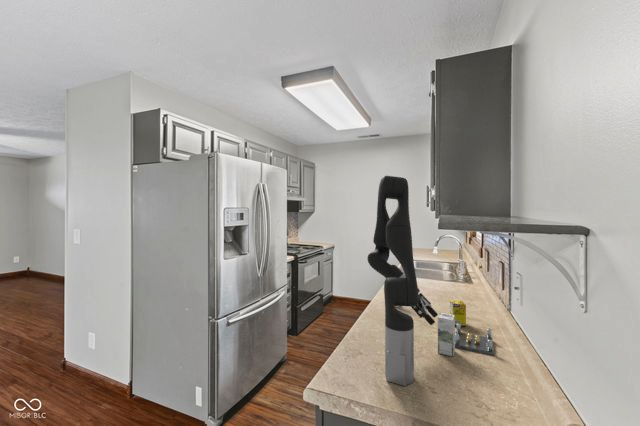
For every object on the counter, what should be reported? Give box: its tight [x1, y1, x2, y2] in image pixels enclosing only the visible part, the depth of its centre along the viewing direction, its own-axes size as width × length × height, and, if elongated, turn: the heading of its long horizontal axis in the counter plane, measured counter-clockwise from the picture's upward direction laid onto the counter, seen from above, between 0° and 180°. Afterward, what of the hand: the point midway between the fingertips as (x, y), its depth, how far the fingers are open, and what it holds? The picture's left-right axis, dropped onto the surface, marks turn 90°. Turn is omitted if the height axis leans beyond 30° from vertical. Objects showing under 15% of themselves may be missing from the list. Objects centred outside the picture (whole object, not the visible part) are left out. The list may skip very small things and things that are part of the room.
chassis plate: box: [455, 323, 495, 356], centre depth 117 cm, size 14×14×5 cm
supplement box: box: [449, 299, 467, 328], centre depth 137 cm, size 6×6×11 cm
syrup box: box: [437, 312, 456, 358], centre depth 110 cm, size 6×6×14 cm
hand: (434, 319), depth 112 cm, fingers open, 8 cm apart
